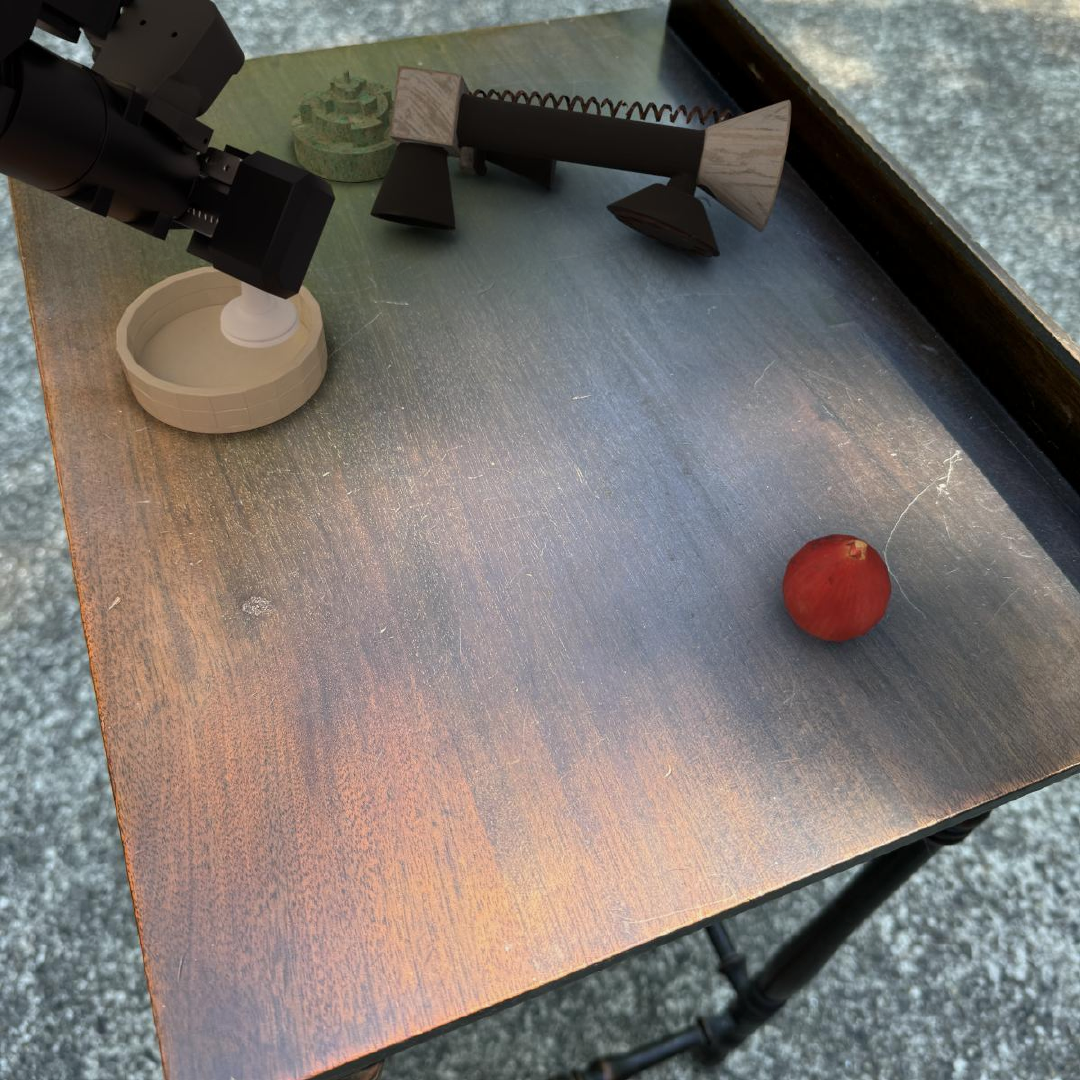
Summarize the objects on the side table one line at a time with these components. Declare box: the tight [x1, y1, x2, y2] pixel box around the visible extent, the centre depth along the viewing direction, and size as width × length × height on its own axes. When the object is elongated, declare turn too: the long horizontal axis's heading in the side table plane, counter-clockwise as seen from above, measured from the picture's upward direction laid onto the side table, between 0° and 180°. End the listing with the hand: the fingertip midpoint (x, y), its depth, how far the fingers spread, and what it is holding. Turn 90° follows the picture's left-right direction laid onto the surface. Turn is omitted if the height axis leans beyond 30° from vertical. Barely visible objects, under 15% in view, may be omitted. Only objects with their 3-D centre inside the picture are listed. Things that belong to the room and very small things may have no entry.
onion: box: [781, 533, 892, 643], centre depth 57 cm, size 6×6×8 cm
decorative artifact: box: [290, 69, 397, 183], centre depth 86 cm, size 10×7×10 cm
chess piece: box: [220, 281, 300, 348], centre depth 61 cm, size 5×5×10 cm
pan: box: [115, 265, 328, 435], centre depth 70 cm, size 13×13×4 cm
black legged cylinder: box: [370, 65, 792, 258], centre depth 80 cm, size 15×13×30 cm
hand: (258, 224), depth 61 cm, fingers closed on chess piece
